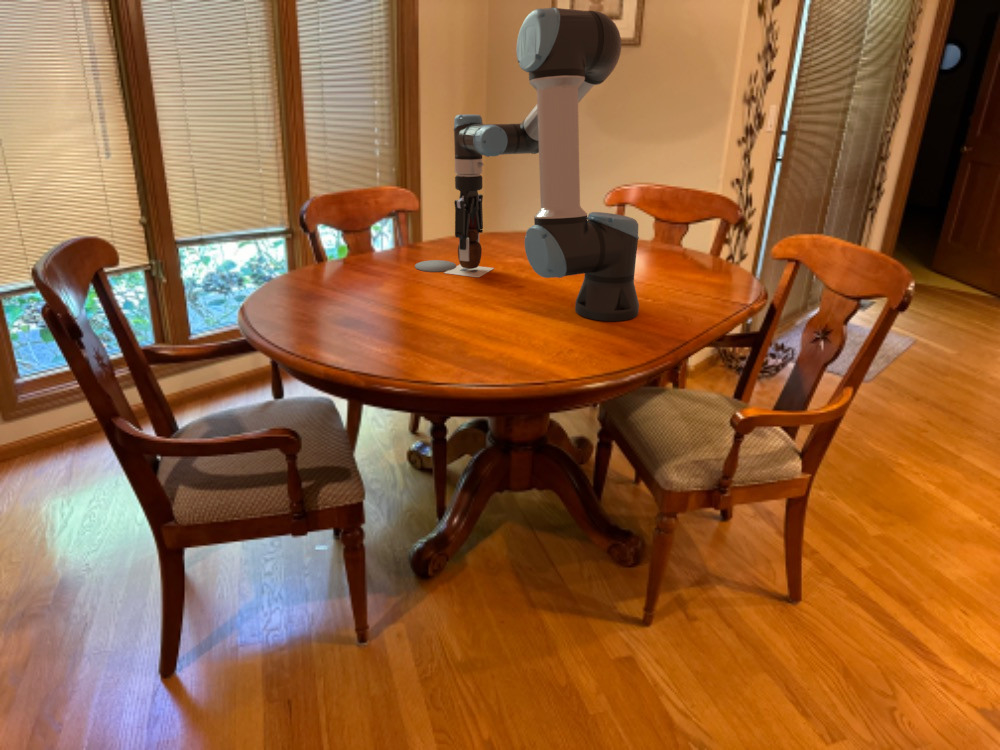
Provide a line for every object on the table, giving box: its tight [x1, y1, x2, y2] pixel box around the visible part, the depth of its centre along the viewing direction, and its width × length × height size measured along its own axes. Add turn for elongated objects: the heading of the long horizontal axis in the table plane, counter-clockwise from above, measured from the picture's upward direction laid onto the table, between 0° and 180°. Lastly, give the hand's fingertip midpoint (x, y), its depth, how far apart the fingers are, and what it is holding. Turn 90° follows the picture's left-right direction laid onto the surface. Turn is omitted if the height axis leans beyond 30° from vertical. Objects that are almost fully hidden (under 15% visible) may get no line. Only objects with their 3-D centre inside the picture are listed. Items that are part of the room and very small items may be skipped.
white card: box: [443, 264, 495, 278], centre depth 198 cm, size 11×11×1 cm
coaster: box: [414, 259, 457, 273], centre depth 202 cm, size 12×12×1 cm
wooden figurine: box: [457, 215, 483, 269], centre depth 195 cm, size 7×6×15 cm
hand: (469, 257), depth 196 cm, fingers closed on wooden figurine, 6 cm apart
